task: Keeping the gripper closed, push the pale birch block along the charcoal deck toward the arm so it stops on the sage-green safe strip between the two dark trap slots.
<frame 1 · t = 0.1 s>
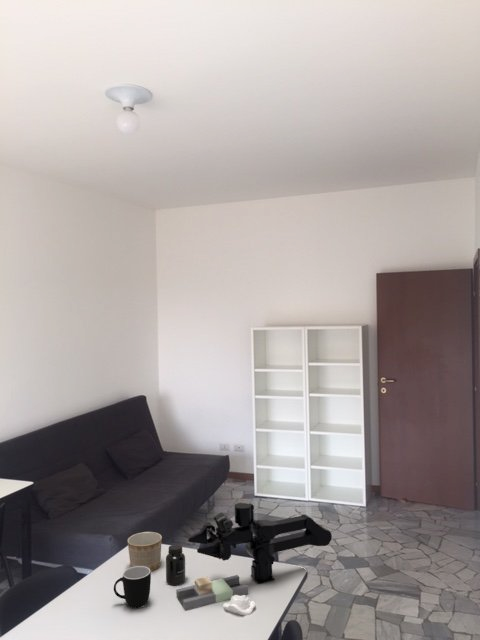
hand: (192, 545, 176), 17 cm above the table, tool horizontal, fingers open, 9 cm apart
planter: (145, 566, 198), on the table
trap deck: (212, 595, 176), on the table
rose: (239, 609, 168), on the table
supplement bottle: (176, 581, 186), on the table
mug: (132, 604, 172), on the table
birch block: (203, 590, 175), point 2 cm above the table, touching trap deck
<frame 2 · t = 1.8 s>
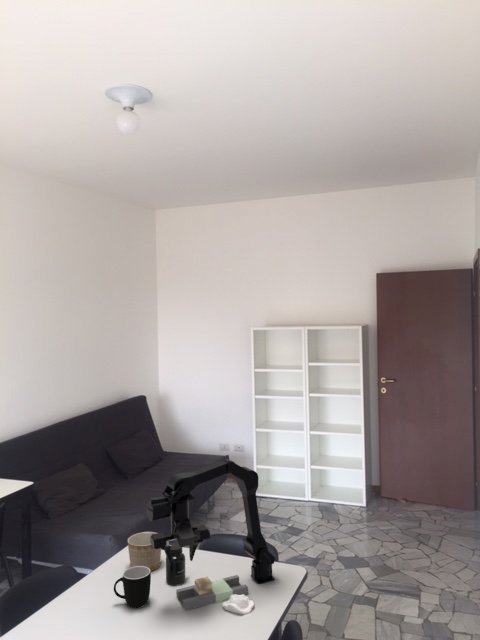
hand: (180, 562, 172), 13 cm above the table, tool pointing down, fingers open, 7 cm apart
nothing on the table moved.
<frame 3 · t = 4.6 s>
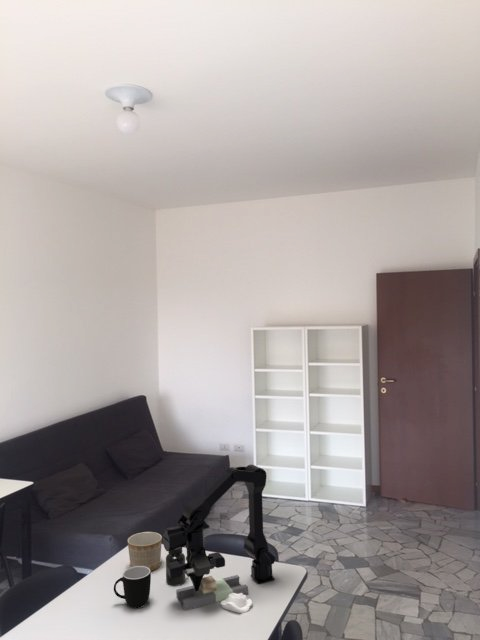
hand: (196, 590, 174), 3 cm above the table, tool pointing down, fingers closed
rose: (236, 607, 169), on the table
birch block: (207, 589, 175), point 3 cm above the table, touching gripper
everything else where it was.
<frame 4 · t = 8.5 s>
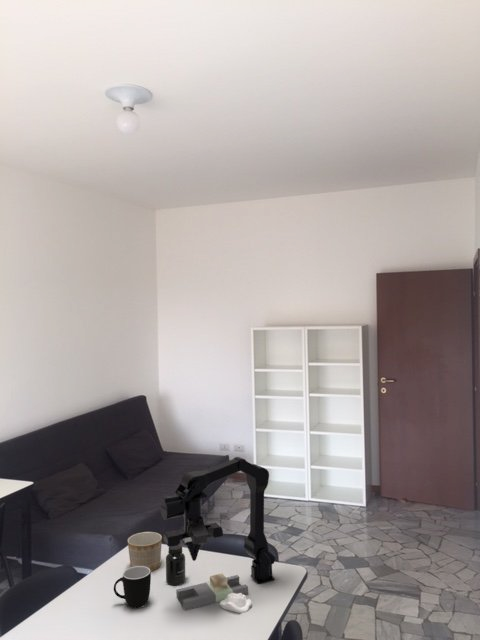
hand: (194, 560, 173), 13 cm above the table, tool pointing down, fingers closed
birch block: (218, 586, 177), point 2 cm above the table, touching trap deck
everything else where it was.
at the end: birch block 0.3 cm from the target spot on the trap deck, point 2.5 cm above the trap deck's base; birch block tilted 0°; birch block moved 5.3 cm from its start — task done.
